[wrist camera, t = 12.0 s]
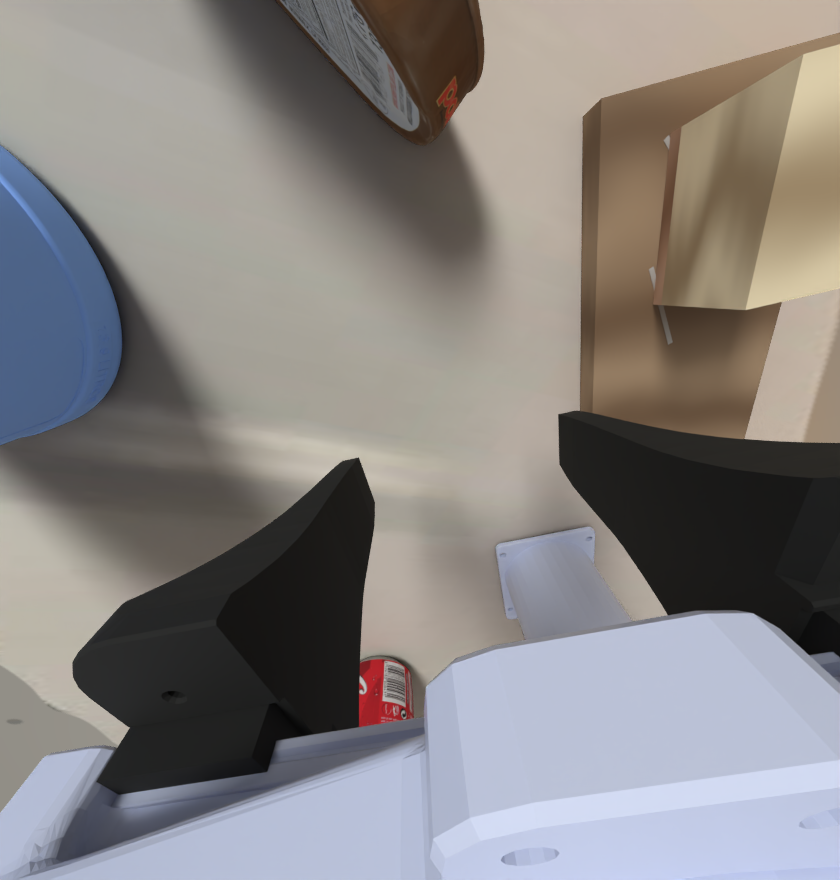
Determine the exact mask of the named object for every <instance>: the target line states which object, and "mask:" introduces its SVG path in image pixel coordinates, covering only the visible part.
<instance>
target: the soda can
mask: <svg viewBox="0 0 840 880" xmlns="http://www.w3.org/2000/svg"><path fill="white" fill-rule="evenodd" d="M413 718H414V716H413V690H412V680H411V673H410V671H409V670H408V669H407V668H406V667H405V666H404V665H402V664H401V663H400V662H398V661H397V660H395V659H393V658H390V657H386V656H374V657H370V658H367V659H364V660H363V661H361V662H360V682H359V727H363V726H370V725H376V724H382V723H388V722H395V721H401V720H407V719H413Z"/></svg>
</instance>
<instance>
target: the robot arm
mask: <svg viewBox="0 0 840 880" xmlns="http://www.w3.org/2000/svg"><path fill="white" fill-rule="evenodd" d="M558 419H559V460H560V466H561V467H562V469H563V471H564V473H565V474H566V476H567V478H568V479H569V481H570V482H571V484H572V485H573V487H574V488H575V489H576V490H577V492H578V493H579V494H580V495H581V496H582V498H583V499H584V500H585V501H586V502H587V504H588V505H589V506H590V507H591V508H592V509H593V511H594V512H595V513H596V514H597V515H598V516H599V518H600V519H601V520H602V521H603V522H604V523H605V525H606V526H607V527H608V528H609V529H610V530H611V532H612V533H613V534H614V535H615V536H616V538H617V539H618V540H619V542H620V543H621V544H622V545H623V547H624V548H625V550H626V551H627V553H628V554H629V556H630V557H631V559H632V560H633V561H634V563H635V564H636V566H637V567H638V569H639V570H640V572H641V573H642V575H643V576H644V578H645V579H646V581H647V582H648V584H649V586H650V587H651V589H652V590H653V592H654V593H655V595H656V596H657V598H658V600H659V601H660V603H661V604H662V606H663V608H664V609H665V611H666V613H667V614H668V616H662V617H656V618H650V619H644V620H639V621H632V620H631V618H630V617H629V615H628V614H627V612H626V611H625V610H624V608H623V607H622V605H621V604H620V602H619V601H618V599H617V598H616V596H615V595H614V593H613V592H612V590H611V589H610V588H609V586H608V585H607V583H606V582H605V580H604V579H603V577H602V576H601V574H600V573H599V571H598V570H597V568H596V567H595V565H594V549H595V531H594V530H593V528H592V527H583V528H578V529H572V530H567V531H562V532H557V533H552V534H546V535H541V536H536V537H531V538H526V539H520V540H515V541H510V542H505V543H500V544H498V545H497V546H496V547H495V550H496V557H497V563H498V570H499V576H500V583H501V589H502V596H503V602H504V609H505V614H506V617H507V618H508V619H516V618H518V620H519V623H520V626H521V629H522V632H523V635H524V638H525V640H523V641H517V642H511V643H505V644H499V645H494V646H491V647H488V648H485V649H482V650H479V651H476V652H473V653H470V654H467V655H464V656H461V657H458V658H456V659H455V660H454V661H452V662H451V663H450V664H449V665H448V666H447V667H446V668H445V669H444V670H442V671H441V672H440V673H439V674H438V675H437V676H436V677H435V678H434V679H433V680H432V681H431V682H430V683H429V684H428V686H427V687H426V692H425V703H424V717H420V718H413V719H407V720H401V721H395V722H388V723H382V724H376V725H370V726H363V727H359V682H360V645H361V622H362V606H363V592H364V584H365V578H366V572H367V566H368V560H369V555H370V549H371V543H372V537H373V531H374V518H375V502H374V499H373V496H372V493H371V491H370V488H369V485H368V482H367V479H366V477H365V474H364V471H363V468H362V465H361V463H360V460H359V458H355V459H350V460H345V461H342V462H341V463H339V464H338V465H337V466H336V467H335V468H333V469H332V470H331V471H330V472H329V473H328V474H327V475H326V476H325V477H324V478H323V479H322V480H321V481H320V482H319V483H318V484H316V485H315V486H314V487H313V488H312V489H311V490H310V491H309V492H308V493H307V494H306V495H304V496H303V497H302V498H301V499H300V500H299V501H297V502H296V503H295V504H294V505H293V506H292V507H291V508H289V509H288V510H287V511H286V512H284V513H283V514H282V515H281V516H279V517H278V518H277V519H275V520H274V521H273V522H271V523H270V524H269V525H267V526H266V527H264V528H263V529H262V530H260V531H259V532H257V533H256V534H254V535H252V536H251V537H249V538H248V539H246V540H245V541H243V542H241V543H240V544H238V545H237V546H235V547H233V548H232V549H230V550H229V551H227V552H225V553H224V554H222V555H220V556H218V557H216V558H215V559H213V560H211V561H209V562H207V563H206V564H204V565H202V566H200V567H198V568H196V569H194V570H192V571H190V572H189V573H187V574H185V575H183V576H181V577H179V578H177V579H174V580H172V581H170V582H168V583H166V584H164V585H161V586H159V587H157V588H155V589H153V590H151V591H149V592H146V593H144V594H142V595H140V596H138V597H136V598H133V599H131V600H129V601H126V602H125V603H124V604H122V605H121V606H120V607H119V608H118V609H117V610H116V612H115V613H114V614H113V615H112V616H111V617H110V618H109V619H108V620H107V621H106V623H105V624H104V625H103V626H102V627H101V628H100V629H99V630H98V631H97V632H96V634H95V635H94V636H93V637H92V638H91V639H90V640H89V641H88V642H87V644H86V645H85V646H84V647H83V648H82V649H81V650H80V651H79V652H78V654H77V656H76V657H75V659H74V661H73V678H74V680H75V682H76V683H77V685H78V687H79V688H80V689H81V690H82V691H83V692H84V693H85V694H86V695H87V696H88V697H89V698H90V699H92V700H93V701H94V702H96V703H97V704H98V705H100V706H101V707H102V708H104V709H105V710H106V711H108V712H109V713H110V714H112V715H113V716H114V717H116V718H117V719H118V720H120V721H121V722H122V723H124V724H125V725H127V726H128V727H130V729H129V730H128V732H127V734H126V735H125V737H124V738H123V740H122V741H121V743H120V745H119V746H118V748H115V747H111V746H105V745H104V746H103V745H102V746H91V747H85V748H79V749H73V750H67V751H61V752H55V753H51V754H49V755H47V756H45V757H44V758H43V759H42V760H41V761H40V763H39V764H38V765H37V767H36V768H35V769H34V770H33V772H32V773H31V774H30V776H29V777H28V778H27V779H26V781H25V782H24V783H23V785H22V786H21V787H20V788H19V790H18V791H17V792H16V794H15V795H14V796H13V798H12V799H11V800H10V802H9V803H8V804H7V805H6V807H5V808H4V809H3V810H2V812H1V813H0V880H840V443H802V442H778V441H762V440H748V439H735V438H725V437H716V436H708V435H700V434H692V433H686V432H679V431H673V430H668V429H663V428H657V427H652V426H647V425H643V424H638V423H633V422H629V421H625V420H620V419H616V418H612V417H608V416H603V415H599V414H594V413H590V412H584V411H572V412H568V413H563V414H558ZM501 553H503V554H501Z"/></svg>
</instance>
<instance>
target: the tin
mask: <svg viewBox="0 0 840 880" xmlns="http://www.w3.org/2000/svg"><path fill="white" fill-rule="evenodd" d="M276 2H277V3H278V4H279V5H280V6H281V7H282V9H283V10H284V11H285V12H286V13H287V14H288V15H289V17H290V18H291V19H292V20H293V21H294V22H295V23H296V24H297V26H298V27H299V28H300V29H301V30H302V31H303V32H304V34H305V35H306V36H307V37H308V38H309V39H310V40H311V41H312V43H313V44H314V45H315V46H316V47H317V48H318V49H319V50H320V52H321V53H322V54H323V55H324V56H325V57H326V58H327V59H328V60H329V62H330V63H331V64H332V65H333V66H334V67H335V68H336V69H337V70H338V72H339V73H340V74H341V75H342V76H343V77H344V78H345V79H346V80H347V82H348V83H349V84H350V85H351V86H352V87H353V88H354V89H355V91H356V92H357V93H358V94H359V95H360V96H361V97H362V98H363V99H364V100H365V101H366V102H367V103H368V104H369V106H370V107H371V108H372V109H373V110H374V111H375V112H376V113H377V114H378V115H379V116H380V117H381V118H382V119H383V120H384V121H386V122H387V123H388V124H389V125H390V126H391V127H392V128H393V129H394V130H395V131H396V132H398V133H399V134H400V135H402V136H403V137H404V138H406V139H407V140H409V141H411V142H413V143H415V144H417V145H427V144H429V143H431V142H432V141H433V140H434V139H436V138H437V137H438V135H439V134H440V133H441V131H442V130H443V129H444V127H445V126H446V124H447V123H448V121H449V120H450V118H451V116H452V115H453V113H454V112H455V110H456V109H457V107H458V106H459V104H460V103H461V101H462V100H463V98H464V97H465V95H466V94H467V93H469V92H470V91H472V90H473V89H474V88H475V86H476V85H477V83H478V82H479V79H480V77H481V74H482V70H483V63H484V37H483V26H482V21H481V16H480V9H479V3H478V0H276Z"/></svg>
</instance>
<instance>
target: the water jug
mask: <svg viewBox="0 0 840 880" xmlns="http://www.w3.org/2000/svg"><path fill="white" fill-rule="evenodd" d="M121 354H122V331H121V323H120V317H119V312H118V308H117V304H116V301H115V298H114V295H113V292H112V289H111V286H110V284H109V281H108V279H107V277H106V274H105V272H104V270H103V268H102V266H101V264H100V262H99V260H98V258H97V256H96V255H95V253H94V251H93V249H92V248H91V246H90V244H89V243H88V241H87V240H86V238H85V237H84V235H83V234H82V232H81V231H80V229H79V228H78V226H77V225H76V224H75V222H74V221H73V219H72V218H71V217H70V215H69V214H68V213H67V212H66V210H65V209H64V208H63V207H62V205H61V204H60V203H59V202H58V201H57V200H56V198H55V197H54V196H53V195H52V194H51V193H50V192H49V190H48V189H47V188H46V187H45V186H44V185H43V184H42V183H41V182H40V181H39V180H38V179H37V178H36V177H35V176H34V175H33V174H32V173H31V172H30V171H29V170H28V169H27V168H26V167H25V166H24V165H23V164H22V163H21V162H19V161H18V160H17V159H16V158H15V157H14V156H13V155H12V154H10V153H9V152H8V151H7V150H6V149H4V148H3V147H2V146H1V145H0V445H3V444H5V443H8V442H10V441H13V440H16V439H18V438H22V437H28V436H32V435H36V434H39V433H42V432H45V431H47V430H50V429H53V428H55V427H58V426H60V425H63V424H65V423H68V422H70V421H73V420H75V419H77V418H79V417H81V416H82V415H84V414H86V413H87V412H88V411H90V410H91V409H92V408H94V407H95V406H96V405H97V404H98V403H99V402H100V401H101V400H102V399H103V398H104V397H105V395H106V394H107V393H108V391H109V389H110V388H111V386H112V384H113V382H114V380H115V378H116V375H117V372H118V369H119V365H120V361H121Z"/></svg>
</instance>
